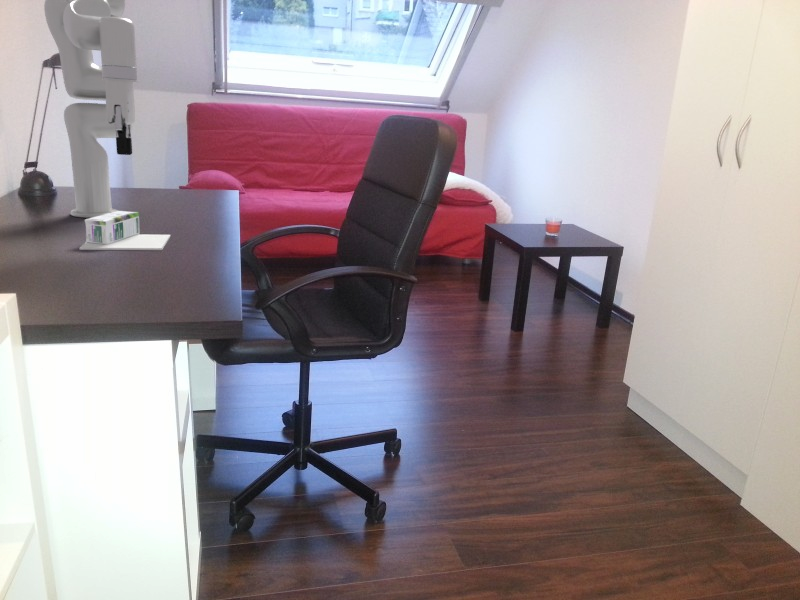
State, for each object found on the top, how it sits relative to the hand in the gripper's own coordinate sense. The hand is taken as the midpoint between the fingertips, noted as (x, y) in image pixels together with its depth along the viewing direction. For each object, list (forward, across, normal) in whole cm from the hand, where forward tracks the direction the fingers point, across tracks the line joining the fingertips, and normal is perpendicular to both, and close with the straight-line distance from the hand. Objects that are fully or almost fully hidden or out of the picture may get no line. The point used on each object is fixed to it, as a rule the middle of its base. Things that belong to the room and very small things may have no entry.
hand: (124, 154), depth 157 cm
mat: (+21, +5, 0) cm, 21 cm away
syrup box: (+18, -4, -1) cm, 18 cm away
